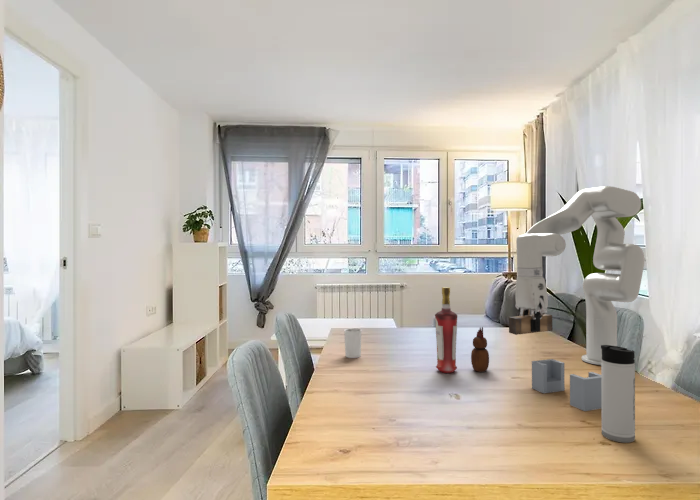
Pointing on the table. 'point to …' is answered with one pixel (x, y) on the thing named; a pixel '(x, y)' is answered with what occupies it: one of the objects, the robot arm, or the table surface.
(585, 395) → the post
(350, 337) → the drinking glass
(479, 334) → the wooden figurine
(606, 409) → the travel mug
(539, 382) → the post
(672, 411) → the table surface
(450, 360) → the liquor
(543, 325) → the rail
